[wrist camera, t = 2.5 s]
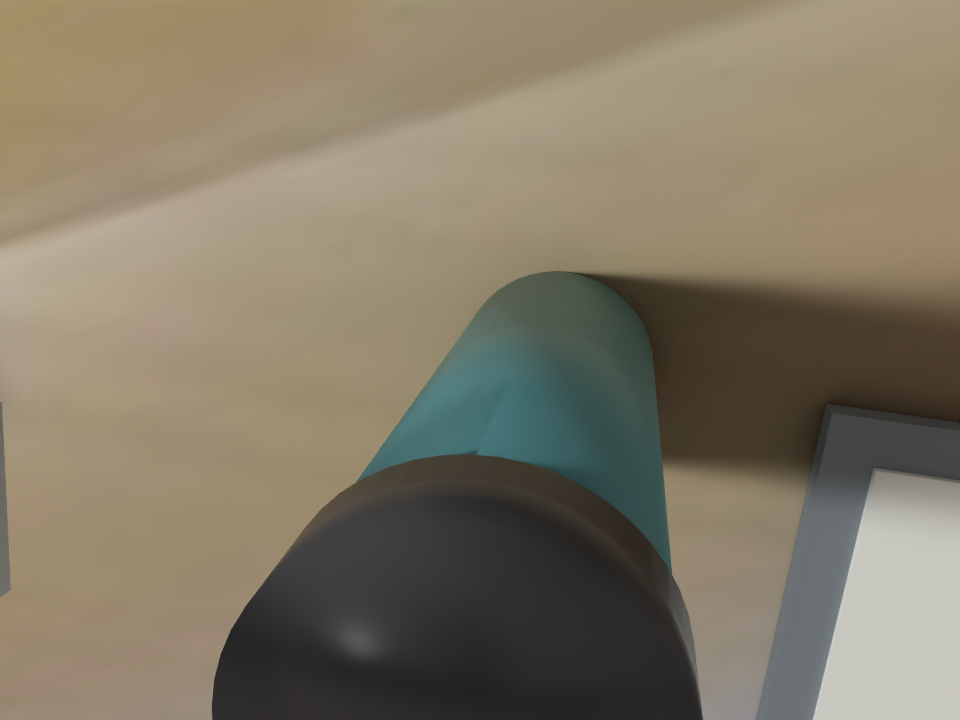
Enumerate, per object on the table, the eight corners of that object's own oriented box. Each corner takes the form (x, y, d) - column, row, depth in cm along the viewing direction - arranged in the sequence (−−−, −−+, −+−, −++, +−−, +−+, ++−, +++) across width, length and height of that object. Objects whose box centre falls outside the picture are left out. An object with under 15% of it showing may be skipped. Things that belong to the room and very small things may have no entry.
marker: (465, 251, 19) (214, 485, 8) (676, 278, 18) (750, 572, 7) (447, 445, 20) (208, 897, 9) (644, 475, 20) (663, 997, 8)
